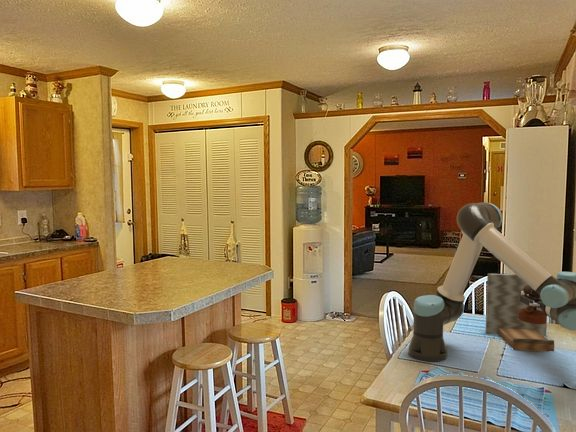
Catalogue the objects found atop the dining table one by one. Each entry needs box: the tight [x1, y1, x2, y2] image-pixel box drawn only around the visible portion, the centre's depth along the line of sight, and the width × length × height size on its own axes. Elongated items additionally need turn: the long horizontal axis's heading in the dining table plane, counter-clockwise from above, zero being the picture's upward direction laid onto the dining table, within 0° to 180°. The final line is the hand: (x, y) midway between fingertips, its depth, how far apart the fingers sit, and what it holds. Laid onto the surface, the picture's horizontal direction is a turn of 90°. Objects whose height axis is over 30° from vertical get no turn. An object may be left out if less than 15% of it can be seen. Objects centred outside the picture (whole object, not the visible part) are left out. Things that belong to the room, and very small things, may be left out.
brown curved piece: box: [518, 285, 548, 324], centre depth 195 cm, size 15×11×20 cm
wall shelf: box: [485, 273, 555, 352], centre depth 205 cm, size 26×22×28 cm
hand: (532, 294), depth 198 cm, fingers closed on brown curved piece, 7 cm apart
